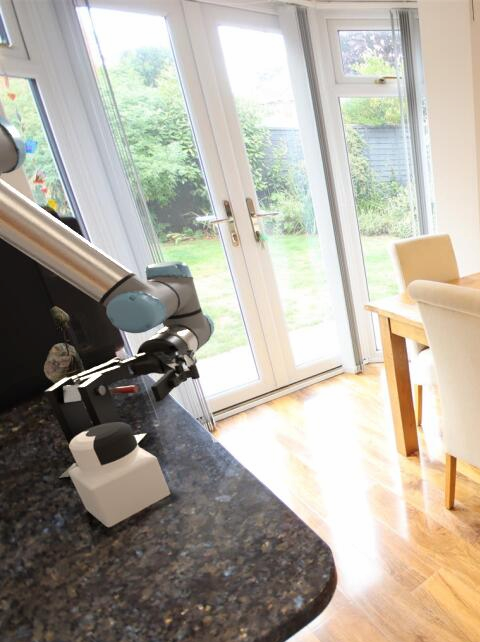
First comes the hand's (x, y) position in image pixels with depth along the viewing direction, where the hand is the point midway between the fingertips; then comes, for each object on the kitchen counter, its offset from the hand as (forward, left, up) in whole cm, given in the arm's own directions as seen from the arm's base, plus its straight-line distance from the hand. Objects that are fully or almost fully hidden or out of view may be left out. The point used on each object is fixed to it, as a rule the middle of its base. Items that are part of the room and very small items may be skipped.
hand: (108, 399), depth 73 cm
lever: (+2, -1, +1) cm, 2 cm away
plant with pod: (-21, -11, -8) cm, 25 cm away
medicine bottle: (+20, +4, -8) cm, 22 cm away
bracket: (+5, -1, -8) cm, 10 cm away
